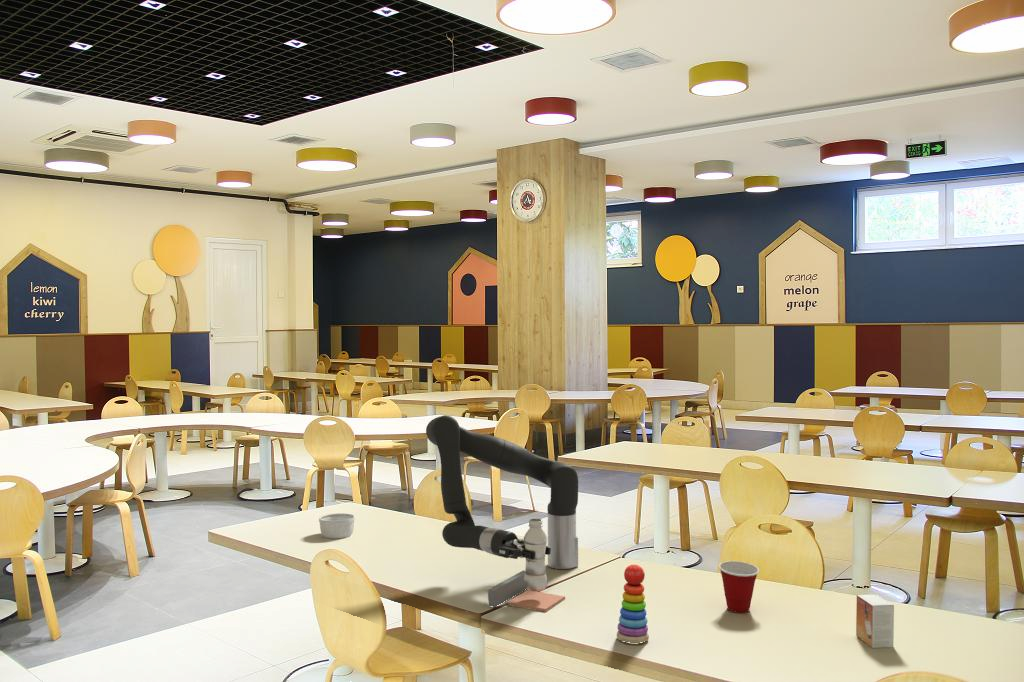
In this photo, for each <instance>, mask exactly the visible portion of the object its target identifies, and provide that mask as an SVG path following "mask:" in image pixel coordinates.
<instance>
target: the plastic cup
mask: <svg viewBox="0 0 1024 682" xmlns="http://www.w3.org/2000/svg"><path fill="white" fill-rule="evenodd" d="M718 568H719V570H720V575H721V579H722V580H721V581H722V585H723V590H724V591H723V592H724V597H725V601H726V607H727V609H728V611H730V612H732V613H737V614H743V613H745V614H747V613H749V611H750V609H751V603H752V599H753V594H754V588H755V583H756V579H757V577H758V574H759V573H760V569H759V567H757V566H756V565H754V564H752V563H749V562H744V561H738V560H727V561H726V560H725V561H723V562H720V563H719V564H718Z"/></svg>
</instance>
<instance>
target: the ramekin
mask: <svg viewBox="0 0 1024 682" xmlns="http://www.w3.org/2000/svg"><path fill="white" fill-rule="evenodd" d="M355 520H356V516H355V515H354V514H352V513H346V512H345V513H344V512H343V513H329V514H324V515H322V516H320V517H319V518H318V522H319V526H320V527H319V528H320V534H321V536H322V537H323V538H325V539H333V540H335V539H336V540H337V539H343V538H345V539H346V538H348V537H350V536H351V535H353V533H354V529H355V528H354V527H355Z"/></svg>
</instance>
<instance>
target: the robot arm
mask: <svg viewBox="0 0 1024 682" xmlns="http://www.w3.org/2000/svg"><path fill="white" fill-rule="evenodd" d="M425 433H426V437H427V439H428V440H429V441H430V443H432V444H433V445H434V446H436V447H437V450H438V454H439V458H440V491H441V498H442V504H443V508H444V512H445V513H446V514H448V515H453V516H454V517H455V521H453V522H452V521H451V522H449V523H447V524H446V525H444V527H443V529H442V531H441V532H442V533H441V534H442V539H443V540H444V542H445V543H446V544H447V545H449V546H451V547H455V548H462V549H463V548H465V549H475V550H478V551H481V552H486V553H487V554H489V555H494V556H497V557H500V558H503V559H504V558H505V559H514V560H517V559H519V558H520V559H526V558H528V559H532V560H533V559H535V552H534V551H531V550H527V549H525V545H524V538H518V536H517V535H516V533H514V532H513V531H510V530H509V531H508V530H505V529H504V530H503V529H500V528H496V527H489V526H488V527H487V526H484V525H476V524H475V521H474V519H473V517H472V515H471V512H470V509H469V508H468V505H467V499H466V492H465V487H464V479H463V474H462V466H461V453H462V454H465V455H467V456H470V457H471V458H474V459H476V460H478V461H479V462H481V463H484V464H487V465H489V466H491V467H494V468H496V469H498V470H501V471H503V472H508V473H512V474H516V475H521V476H527V477H530V478H532V479H534V480H536V481H539V482H540V483H542V484H544V485H546V486H547V487H548V488H550V500H549V502H548V503H547V545H546V551H545V556H546V555H547V566H548V567H549V568H551V569H554V568H555V569H556V570H570V569H573V568H578V567H579V538H578V536H577V507H578V502H579V476H578V472H577V471H576V469H574V467H572V466H571V465H569V464H567V463H564V462H563V461H562V462H561V461H557V460H553V459H550V458H546V457H543V456H540V455H537V454H534V453H533V452H531V451H529V450H528V449H526V448H524V447H522V446H520V445H518V444H516V443H514V442H511V441H509V440H506V439H503V438H501V437H498V436H493V435H490V434H485V433H480V432H479V433H478V432H474V431H471V430H469V429H466V428H464V427H461V426H460V425H459V423H458V421H457V420H456V419H455V418H454V417H453V416H451V415H440V416H436V417H435V418H432V419H431V420H430V421H429V422H428V424H427V425H426V429H425Z"/></svg>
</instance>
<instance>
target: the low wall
mask: <svg viewBox="0 0 1024 682" xmlns="http://www.w3.org/2000/svg"><path fill="white" fill-rule="evenodd" d="M524 575H525V570H524V569H522V571H519V572H518V573H516V574H514V575H512V576H509V577H508V578H506V579H505V580H503V581H501V582H499V583H497V584H495V585H494V586H491V587H490V588H488V590H487V591H488V593H487V594H488V597H487V598H488V599H487V600H488V605H487V606H488V607H489V606H493V607H496V606H497V605H499V604H501V603H503V602H504V601H506V600H508V599H509V600H511V599H513V598H514V597H513V596H515V595H516V596H518V595H520V594H522V593H523V592H525V591H526V590H525V589H526V588H525V586H524ZM524 590H525V591H524ZM522 591H523V592H522ZM519 593H520V594H519ZM517 594H518V595H517ZM516 596H515V597H516ZM512 597H513V598H512ZM510 598H511V599H510ZM509 600H508V601H509ZM506 602H507V601H506ZM504 603H505V602H504ZM504 603H503V604H504ZM501 605H502V604H501ZM499 606H500V605H499ZM497 607H498V606H497ZM497 607H496V608H497Z"/></svg>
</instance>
